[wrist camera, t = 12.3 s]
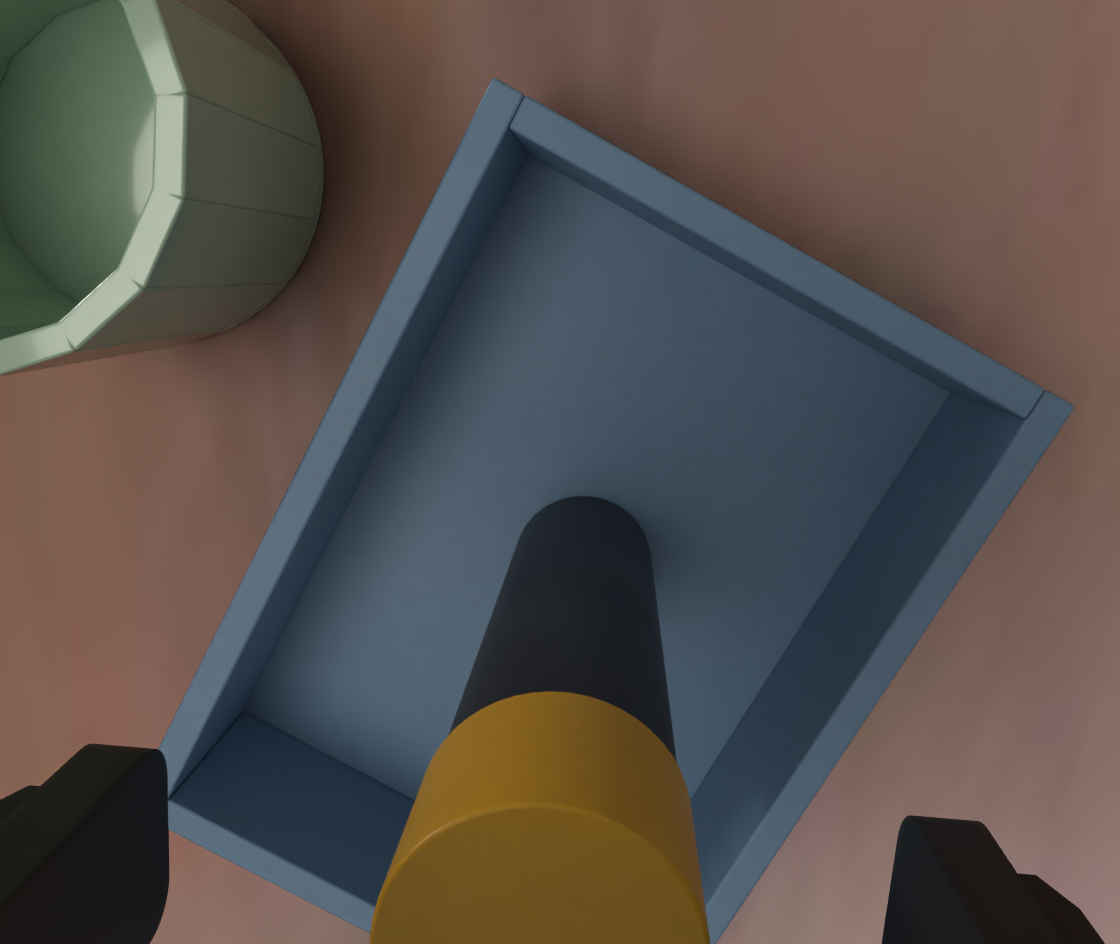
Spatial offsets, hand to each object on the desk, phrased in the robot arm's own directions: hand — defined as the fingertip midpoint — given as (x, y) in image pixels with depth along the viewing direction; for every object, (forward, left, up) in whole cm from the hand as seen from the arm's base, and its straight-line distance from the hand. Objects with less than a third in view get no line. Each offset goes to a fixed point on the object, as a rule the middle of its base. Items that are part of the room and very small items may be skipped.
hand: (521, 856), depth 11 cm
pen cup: (-12, +3, -12) cm, 17 cm away
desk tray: (0, 0, -12) cm, 12 cm away
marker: (0, 0, -11) cm, 11 cm away
